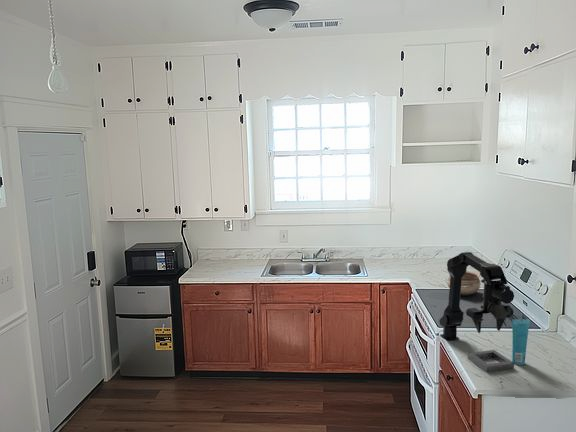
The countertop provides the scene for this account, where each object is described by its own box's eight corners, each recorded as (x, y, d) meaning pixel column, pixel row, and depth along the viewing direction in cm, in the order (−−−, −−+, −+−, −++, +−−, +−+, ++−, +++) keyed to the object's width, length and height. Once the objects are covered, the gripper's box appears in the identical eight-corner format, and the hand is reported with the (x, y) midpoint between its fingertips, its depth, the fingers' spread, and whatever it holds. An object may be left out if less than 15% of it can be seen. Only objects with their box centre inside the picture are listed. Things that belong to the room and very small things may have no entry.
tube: (523, 359, 208) (526, 317, 205) (529, 364, 203) (533, 321, 200) (506, 360, 207) (509, 317, 204) (512, 365, 203) (516, 322, 199)
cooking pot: (484, 301, 280) (485, 281, 278) (450, 300, 283) (451, 280, 281) (474, 288, 304) (475, 269, 302) (443, 287, 307) (444, 268, 305)
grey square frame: (467, 358, 209) (467, 353, 209) (493, 355, 212) (494, 349, 212) (486, 372, 197) (486, 366, 196) (513, 368, 200) (514, 363, 199)
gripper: (483, 304, 189) (480, 341, 192) (524, 300, 193) (521, 336, 196) (466, 295, 200) (464, 330, 202) (505, 291, 204) (503, 326, 206)
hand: (488, 331), depth 201 cm, fingers open, 9 cm apart
